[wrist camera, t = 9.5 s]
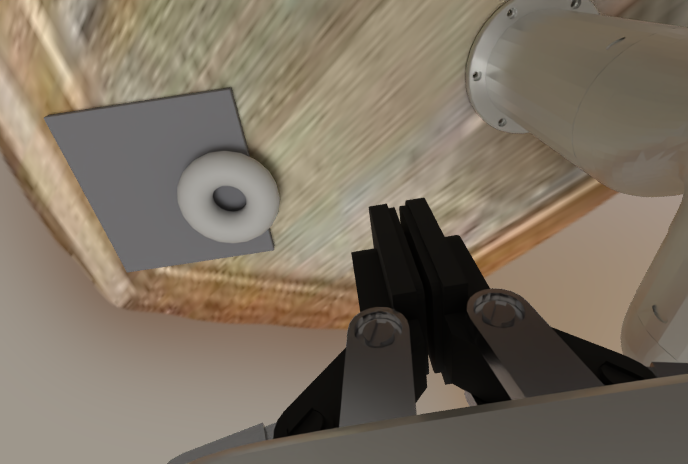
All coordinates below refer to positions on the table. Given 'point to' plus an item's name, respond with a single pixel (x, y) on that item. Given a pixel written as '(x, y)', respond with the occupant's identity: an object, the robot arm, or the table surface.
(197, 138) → the mat
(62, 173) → the table surface
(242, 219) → the donut
